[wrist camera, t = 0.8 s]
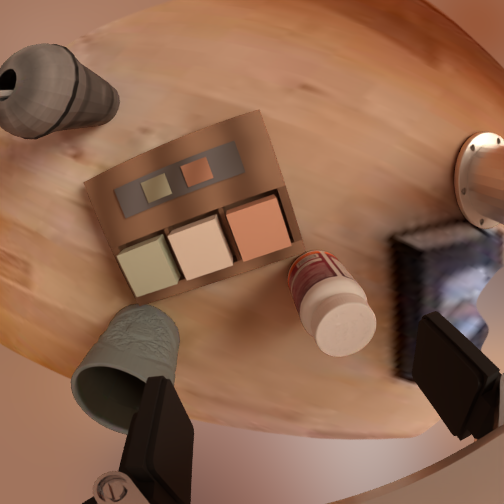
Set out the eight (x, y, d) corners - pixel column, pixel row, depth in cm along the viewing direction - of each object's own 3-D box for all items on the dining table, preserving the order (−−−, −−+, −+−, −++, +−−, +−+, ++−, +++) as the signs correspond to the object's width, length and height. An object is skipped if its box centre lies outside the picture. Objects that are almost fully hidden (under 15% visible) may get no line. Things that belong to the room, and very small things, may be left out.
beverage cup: (146, 92, 26) (23, 32, 7) (105, 151, 28) (-42, 173, 9) (97, 61, 25) (-32, 2, 6) (60, 117, 26) (-85, 116, 7)
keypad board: (257, 112, 28) (259, 108, 25) (300, 243, 32) (306, 253, 29) (94, 179, 29) (81, 183, 26) (145, 295, 33) (138, 308, 30)
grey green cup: (157, 285, 33) (123, 349, 22) (203, 352, 36) (192, 426, 25) (94, 317, 34) (51, 378, 23) (140, 375, 37) (116, 443, 26)
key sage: (162, 233, 29) (157, 240, 27) (180, 275, 30) (177, 283, 28) (123, 249, 29) (116, 256, 27) (142, 288, 30) (136, 297, 28)
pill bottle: (281, 296, 34) (299, 360, 23) (293, 244, 32) (320, 292, 21) (333, 302, 35) (366, 363, 24) (347, 253, 33) (392, 301, 22)
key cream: (216, 214, 28) (214, 218, 26) (233, 257, 30) (233, 265, 28) (172, 230, 28) (167, 236, 27) (189, 272, 30) (187, 280, 28)
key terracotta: (273, 194, 28) (276, 197, 26) (288, 239, 29) (291, 245, 27) (226, 210, 28) (225, 215, 26) (243, 254, 30) (243, 261, 28)
